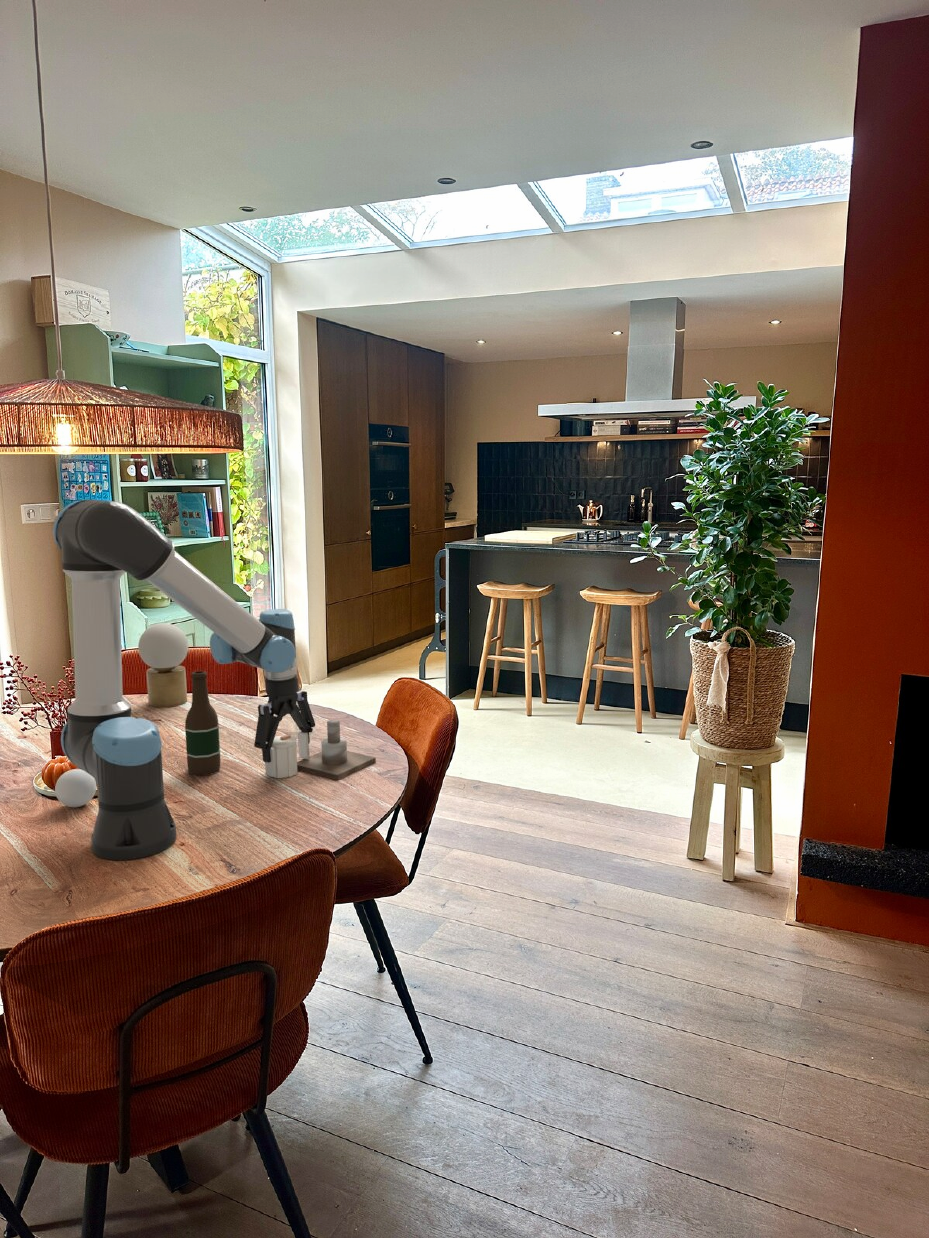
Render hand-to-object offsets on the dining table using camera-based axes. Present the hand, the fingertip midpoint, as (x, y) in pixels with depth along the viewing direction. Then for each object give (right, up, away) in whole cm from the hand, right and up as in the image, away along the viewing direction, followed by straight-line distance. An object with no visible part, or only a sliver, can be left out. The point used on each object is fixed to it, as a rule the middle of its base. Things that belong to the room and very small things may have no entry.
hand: (288, 765), depth 199 cm
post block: (+10, 0, +4) cm, 11 cm away
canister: (-1, -1, -1) cm, 2 cm away
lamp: (-49, +9, +57) cm, 76 cm away
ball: (-41, -5, -20) cm, 46 cm away
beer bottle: (-20, -1, +1) cm, 20 cm away
